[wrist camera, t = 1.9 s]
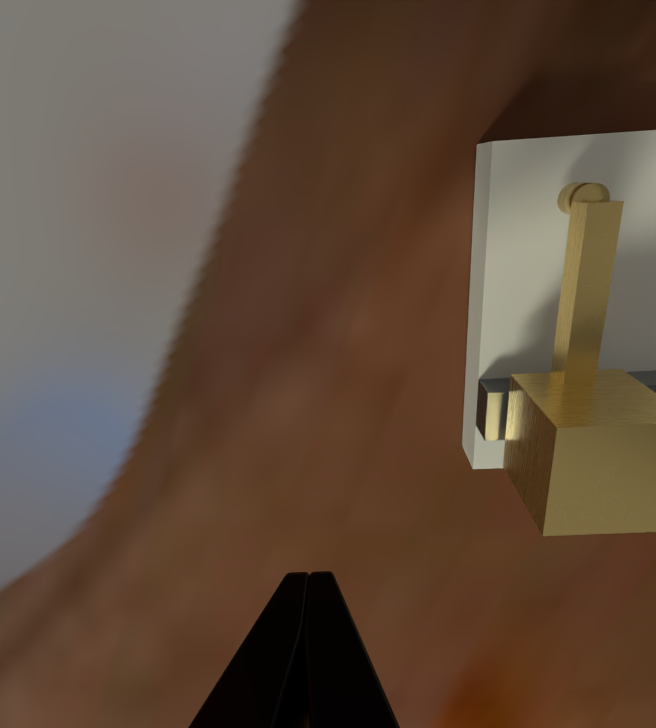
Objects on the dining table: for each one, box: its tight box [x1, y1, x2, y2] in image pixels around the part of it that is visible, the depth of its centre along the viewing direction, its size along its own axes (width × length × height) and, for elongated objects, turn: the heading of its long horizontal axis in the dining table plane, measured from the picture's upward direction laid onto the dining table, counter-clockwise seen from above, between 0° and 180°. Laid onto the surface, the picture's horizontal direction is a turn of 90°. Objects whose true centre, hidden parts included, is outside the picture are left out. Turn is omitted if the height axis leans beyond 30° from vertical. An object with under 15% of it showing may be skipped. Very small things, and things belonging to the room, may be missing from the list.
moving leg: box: [503, 182, 656, 536], centre depth 12 cm, size 3×8×4 cm, turn 4°
